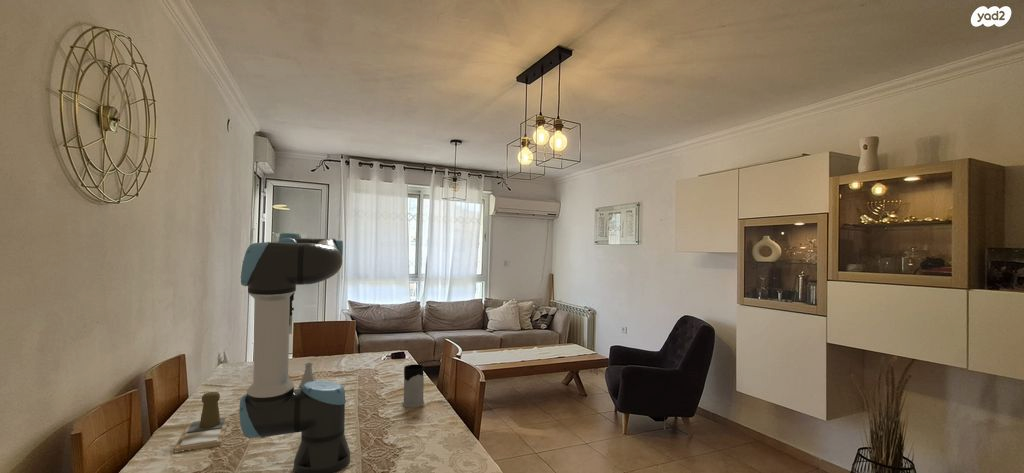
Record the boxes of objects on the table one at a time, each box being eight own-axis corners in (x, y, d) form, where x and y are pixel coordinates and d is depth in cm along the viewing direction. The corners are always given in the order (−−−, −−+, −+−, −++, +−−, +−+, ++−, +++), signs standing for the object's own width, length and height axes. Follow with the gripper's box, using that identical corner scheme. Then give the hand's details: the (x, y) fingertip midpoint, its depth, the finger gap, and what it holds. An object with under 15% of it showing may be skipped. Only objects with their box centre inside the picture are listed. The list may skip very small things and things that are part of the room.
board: (221, 445, 140) (221, 440, 140) (174, 452, 134) (174, 447, 134) (229, 420, 159) (229, 416, 159) (189, 426, 154) (189, 421, 154)
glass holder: (407, 409, 173) (408, 370, 173) (394, 399, 184) (394, 363, 185) (428, 404, 178) (428, 367, 178) (413, 395, 189) (414, 360, 190)
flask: (299, 384, 203) (300, 362, 203) (316, 382, 206) (317, 360, 206) (299, 388, 196) (299, 366, 196) (316, 386, 199) (317, 364, 199)
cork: (216, 420, 156) (217, 388, 156) (223, 424, 152) (224, 392, 152) (196, 425, 151) (197, 392, 151) (202, 429, 147) (203, 396, 147)
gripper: (278, 272, 175) (277, 326, 174) (277, 276, 152) (275, 337, 152) (299, 272, 178) (298, 324, 177) (301, 276, 156) (299, 336, 155)
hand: (287, 331), depth 165 cm, fingers open, 13 cm apart
